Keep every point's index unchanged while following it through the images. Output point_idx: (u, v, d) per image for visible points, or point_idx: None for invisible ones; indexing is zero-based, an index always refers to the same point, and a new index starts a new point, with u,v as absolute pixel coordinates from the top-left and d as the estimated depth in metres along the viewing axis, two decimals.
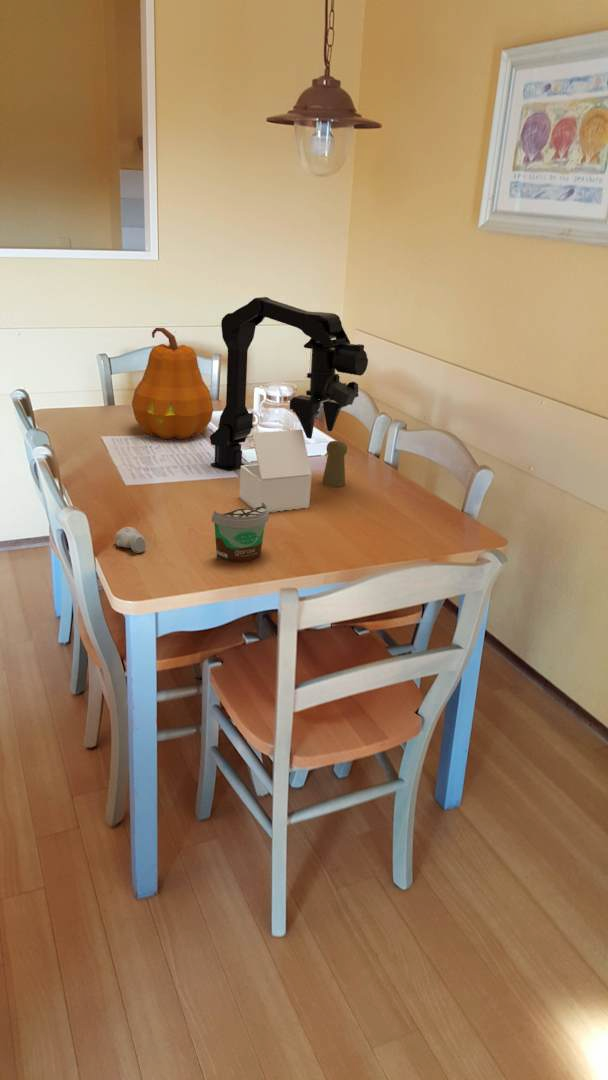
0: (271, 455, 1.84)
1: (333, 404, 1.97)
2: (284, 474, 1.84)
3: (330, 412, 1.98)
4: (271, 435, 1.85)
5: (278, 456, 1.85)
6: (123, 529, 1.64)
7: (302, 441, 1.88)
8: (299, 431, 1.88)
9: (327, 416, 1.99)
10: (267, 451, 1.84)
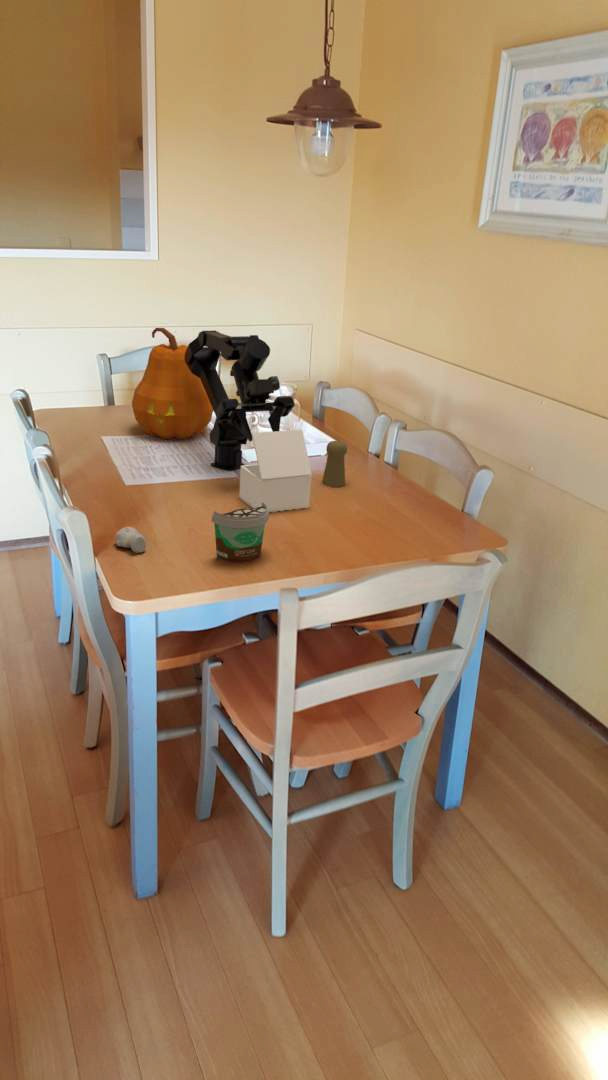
0: (271, 455, 1.84)
1: (272, 413, 1.96)
2: (284, 474, 1.84)
3: (273, 422, 1.96)
4: (271, 435, 1.85)
5: (278, 456, 1.85)
6: (123, 529, 1.64)
7: (302, 441, 1.88)
8: (299, 431, 1.88)
9: (272, 427, 1.96)
10: (267, 451, 1.84)
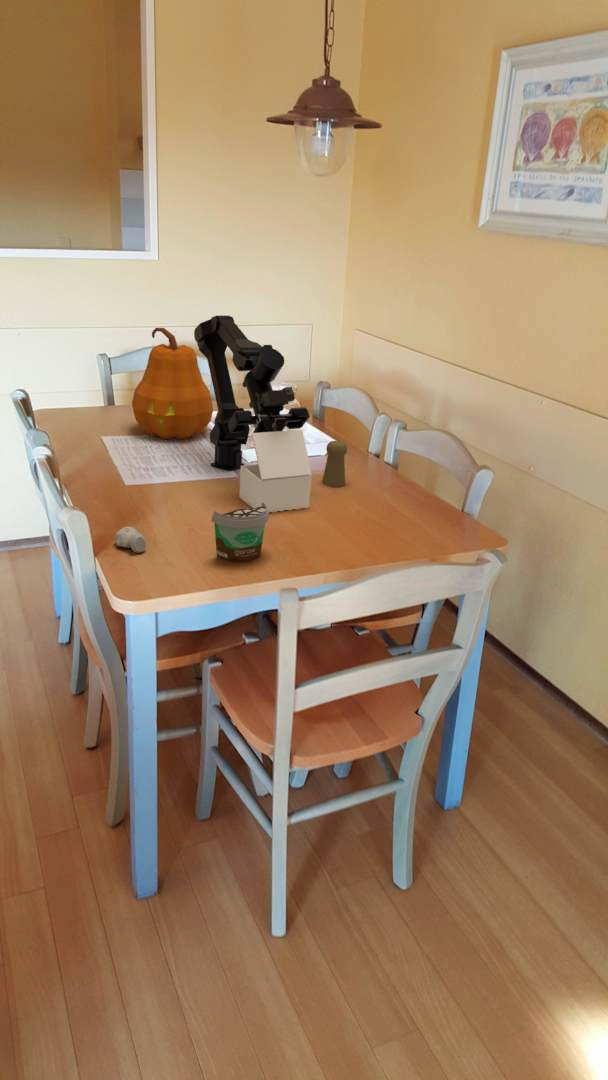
0: (271, 455, 1.84)
1: (274, 426, 1.89)
2: (284, 474, 1.84)
3: None
4: (271, 435, 1.85)
5: (278, 456, 1.85)
6: (123, 529, 1.64)
7: (302, 441, 1.88)
8: (299, 431, 1.88)
9: None
10: (267, 451, 1.84)
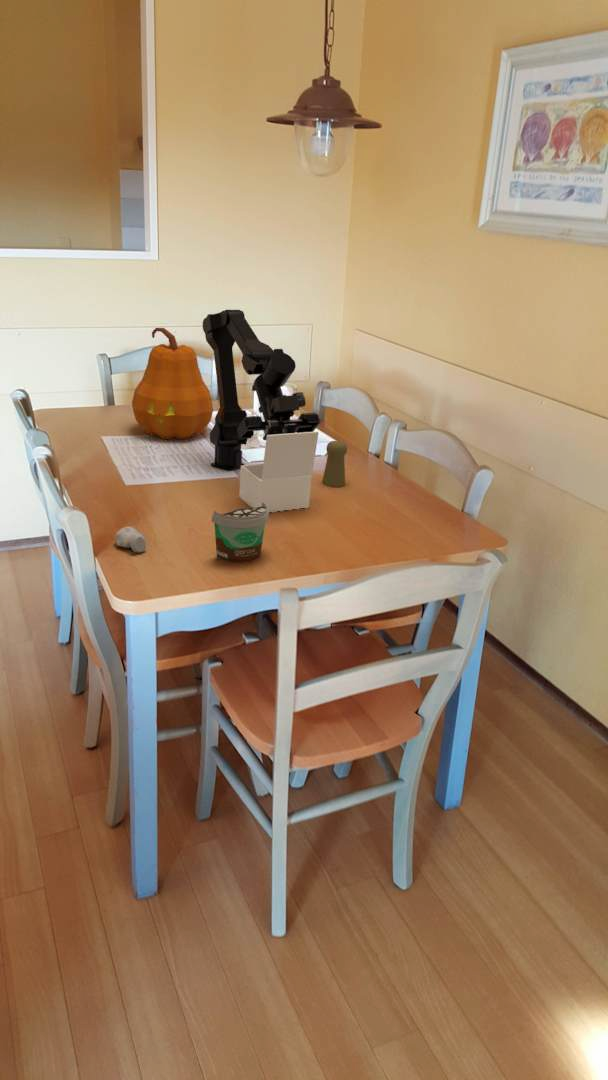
0: (279, 458, 1.81)
1: (284, 432, 1.85)
2: (286, 475, 1.84)
3: None
4: (285, 438, 1.79)
5: (285, 458, 1.82)
6: (123, 529, 1.64)
7: (314, 444, 1.83)
8: (315, 434, 1.82)
9: None
10: (276, 454, 1.80)
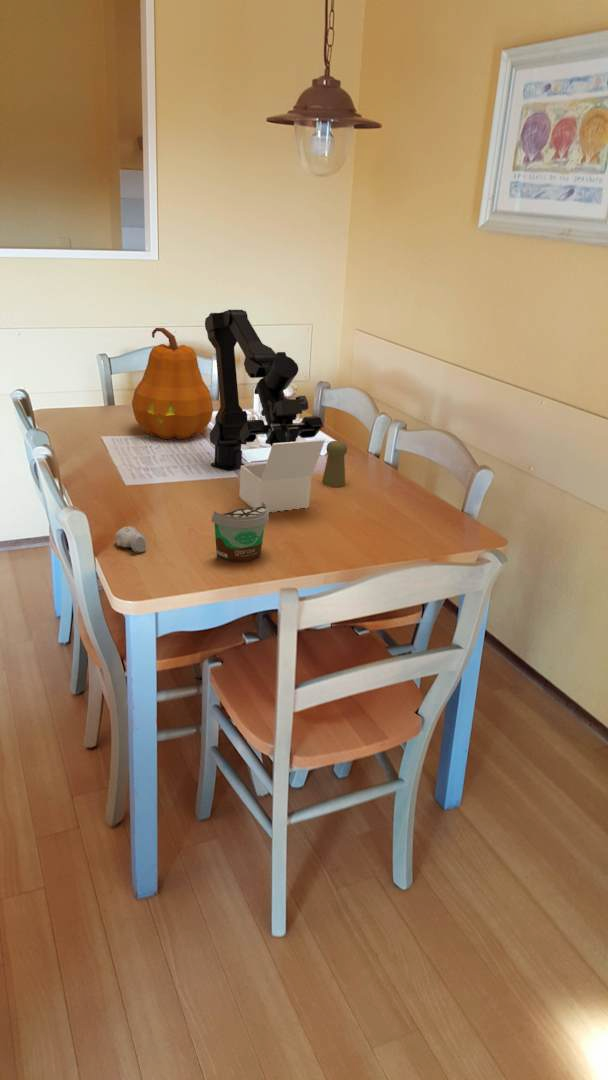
0: (281, 462, 1.80)
1: (287, 435, 1.84)
2: (286, 476, 1.84)
3: None
4: (291, 446, 1.77)
5: (288, 462, 1.81)
6: (123, 529, 1.64)
7: (319, 450, 1.82)
8: (321, 442, 1.80)
9: None
10: (279, 459, 1.79)
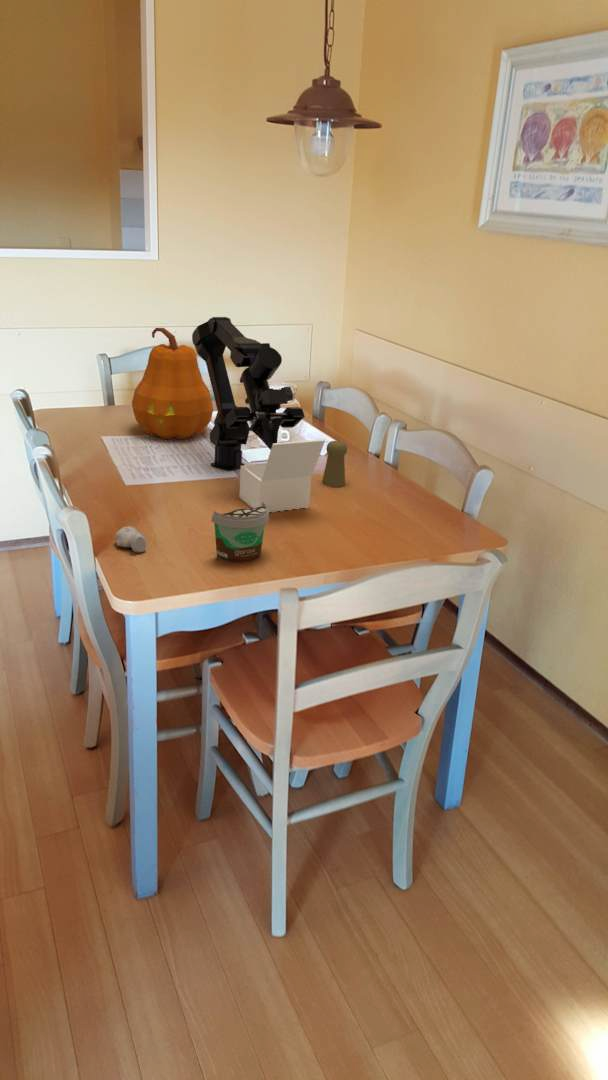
0: (281, 462, 1.80)
1: (270, 424, 1.91)
2: (286, 476, 1.84)
3: None
4: (291, 446, 1.77)
5: (288, 462, 1.81)
6: (123, 529, 1.64)
7: (319, 450, 1.82)
8: (321, 442, 1.80)
9: None
10: (279, 459, 1.79)
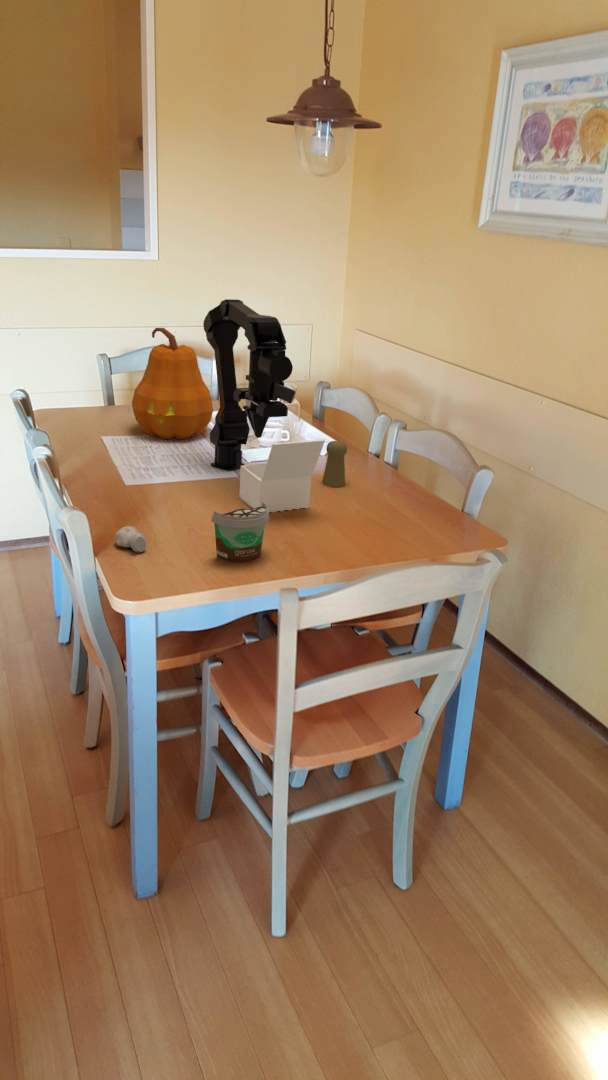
0: (281, 462, 1.80)
1: None
2: (286, 476, 1.84)
3: None
4: (291, 446, 1.77)
5: (288, 462, 1.81)
6: (123, 529, 1.64)
7: (319, 450, 1.82)
8: (321, 442, 1.80)
9: None
10: (279, 459, 1.79)
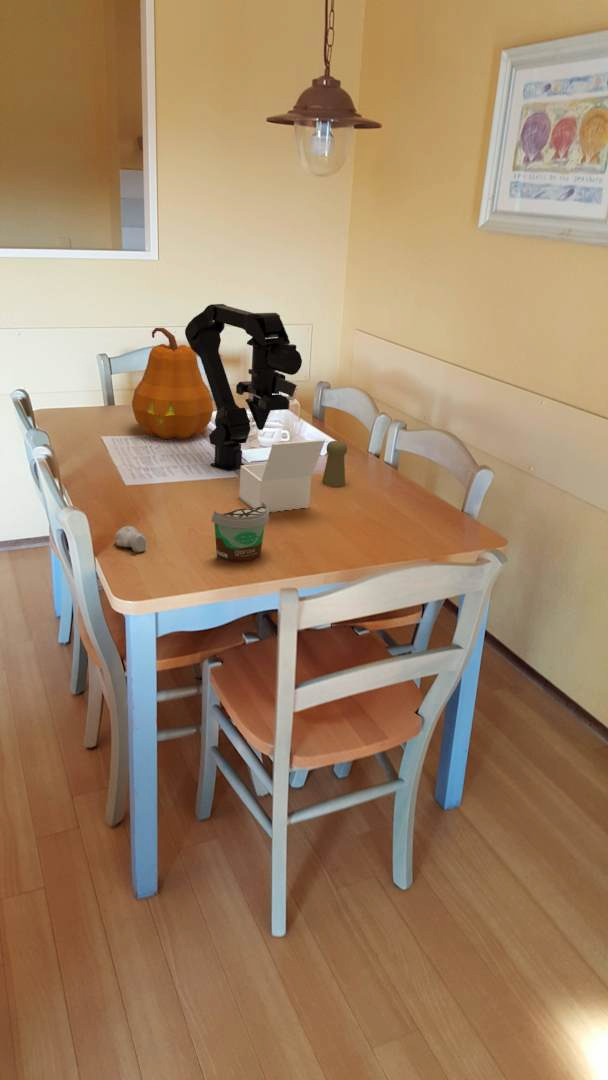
0: (281, 462, 1.80)
1: None
2: (286, 476, 1.84)
3: None
4: (291, 446, 1.77)
5: (288, 462, 1.81)
6: (123, 529, 1.64)
7: (319, 450, 1.82)
8: (321, 442, 1.80)
9: None
10: (279, 459, 1.79)
